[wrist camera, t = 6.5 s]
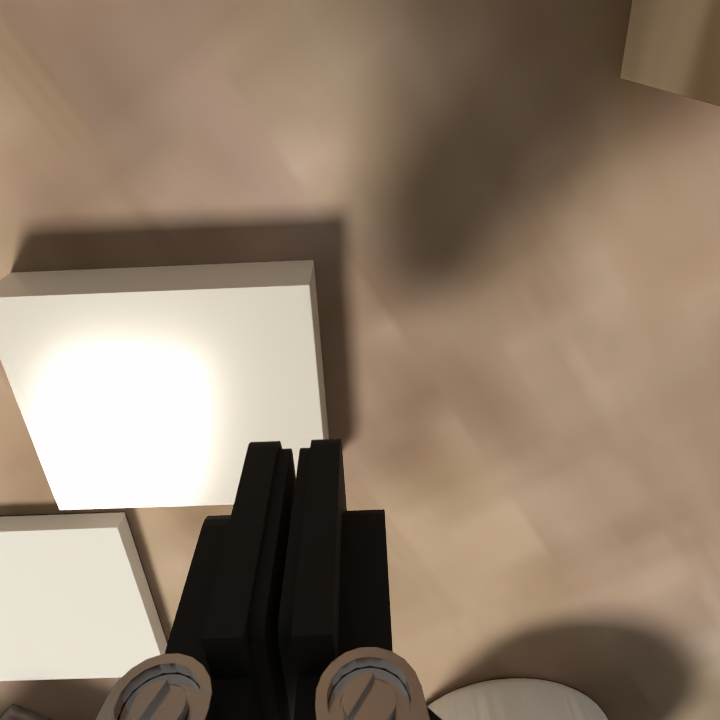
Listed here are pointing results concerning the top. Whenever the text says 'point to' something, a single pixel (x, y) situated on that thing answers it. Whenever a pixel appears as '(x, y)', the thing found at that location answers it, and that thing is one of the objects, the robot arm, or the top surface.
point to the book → (20, 714)
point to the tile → (162, 376)
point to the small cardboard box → (675, 47)
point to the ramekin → (516, 702)
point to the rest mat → (73, 598)
